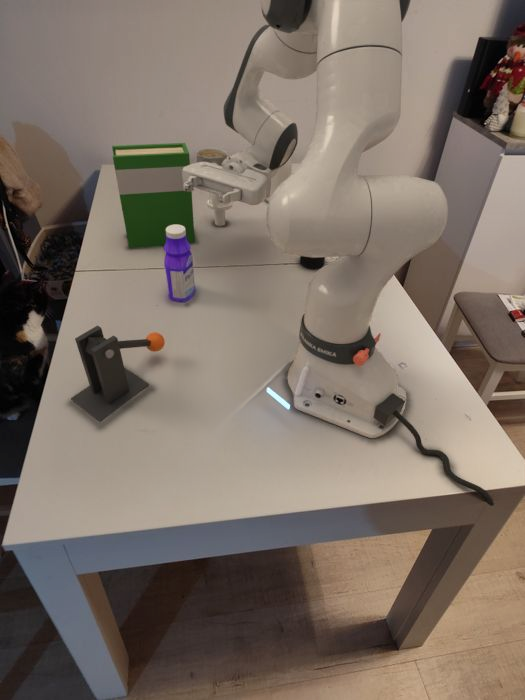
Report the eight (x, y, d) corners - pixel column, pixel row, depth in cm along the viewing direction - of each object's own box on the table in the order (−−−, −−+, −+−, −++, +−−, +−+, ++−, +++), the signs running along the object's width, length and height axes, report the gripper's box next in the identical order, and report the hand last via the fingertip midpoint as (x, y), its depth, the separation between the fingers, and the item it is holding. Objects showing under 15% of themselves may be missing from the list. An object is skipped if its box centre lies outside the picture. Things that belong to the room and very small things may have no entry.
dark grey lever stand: (121, 369, 85) (107, 312, 76) (150, 388, 82) (139, 331, 73) (72, 403, 79) (50, 345, 69) (101, 425, 75) (82, 367, 66)
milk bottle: (293, 199, 147) (299, 135, 134) (281, 207, 142) (286, 141, 129) (273, 193, 150) (277, 129, 136) (261, 201, 145) (263, 135, 131)
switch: (152, 346, 86) (157, 329, 85) (165, 354, 85) (170, 336, 84) (81, 352, 72) (86, 332, 71) (95, 362, 71) (101, 341, 70)
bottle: (188, 308, 101) (183, 238, 89) (165, 304, 101) (156, 234, 90) (198, 290, 106) (194, 222, 94) (176, 286, 107) (169, 218, 95)
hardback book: (129, 248, 119) (112, 157, 103) (127, 235, 124) (112, 145, 108) (194, 242, 123) (189, 153, 106) (191, 230, 128) (185, 142, 112)
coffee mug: (199, 176, 158) (197, 147, 151) (227, 177, 158) (226, 148, 152) (196, 192, 148) (194, 161, 141) (226, 193, 148) (226, 162, 142)
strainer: (226, 230, 129) (226, 179, 119) (204, 226, 130) (201, 174, 120) (235, 220, 134) (235, 170, 124) (213, 216, 135) (212, 166, 125)
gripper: (202, 150, 105) (164, 167, 96) (277, 171, 98) (243, 191, 89) (203, 177, 109) (166, 195, 100) (275, 198, 102) (242, 220, 93)
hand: (203, 193), depth 95 cm, fingers open, 8 cm apart
